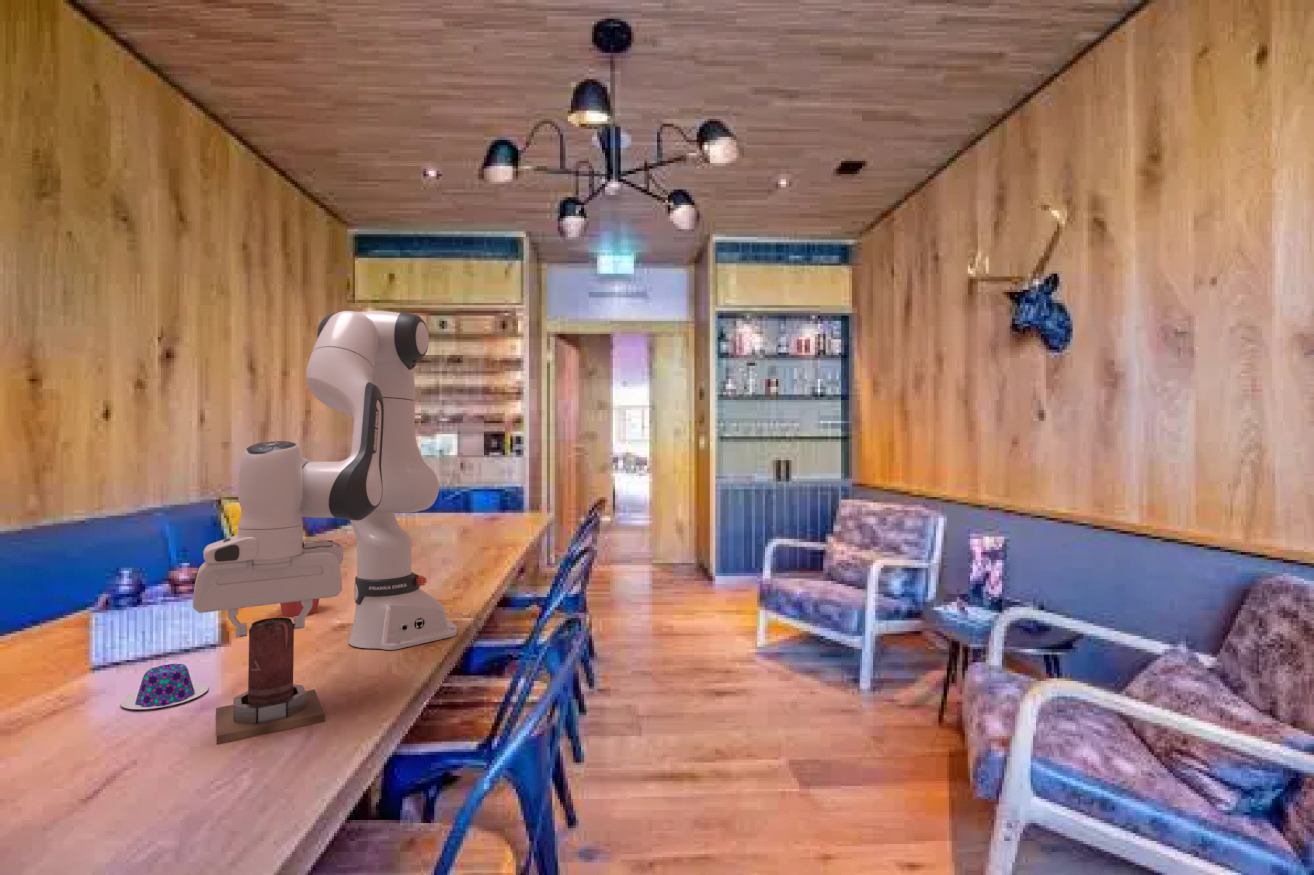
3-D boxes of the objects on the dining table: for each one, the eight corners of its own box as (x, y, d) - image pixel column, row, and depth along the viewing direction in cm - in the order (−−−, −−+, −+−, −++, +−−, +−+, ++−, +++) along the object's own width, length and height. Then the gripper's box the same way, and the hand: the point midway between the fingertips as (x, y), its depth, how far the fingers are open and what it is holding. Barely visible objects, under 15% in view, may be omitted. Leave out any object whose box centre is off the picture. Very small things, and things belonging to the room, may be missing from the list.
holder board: (314, 696, 112) (314, 689, 112) (324, 721, 102) (324, 713, 102) (215, 715, 104) (215, 707, 104) (216, 744, 94) (216, 736, 94)
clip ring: (300, 694, 110) (300, 680, 110) (307, 714, 102) (307, 698, 102) (232, 707, 104) (232, 692, 104) (234, 729, 96) (234, 712, 96)
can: (273, 719, 100) (275, 627, 100) (238, 716, 101) (239, 625, 101) (303, 704, 106) (304, 617, 106) (269, 700, 107) (270, 615, 107)
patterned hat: (115, 719, 103) (115, 686, 103) (125, 695, 113) (125, 664, 113) (207, 703, 110) (207, 672, 110) (209, 681, 120) (209, 652, 120)
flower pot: (264, 618, 161) (264, 578, 161) (296, 607, 172) (296, 570, 172) (303, 620, 160) (303, 580, 160) (332, 608, 170) (332, 571, 170)
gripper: (340, 536, 112) (339, 617, 112) (193, 547, 100) (193, 637, 100) (346, 541, 107) (346, 626, 107) (192, 553, 95) (192, 648, 95)
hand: (270, 632), depth 103 cm, fingers open, 6 cm apart
